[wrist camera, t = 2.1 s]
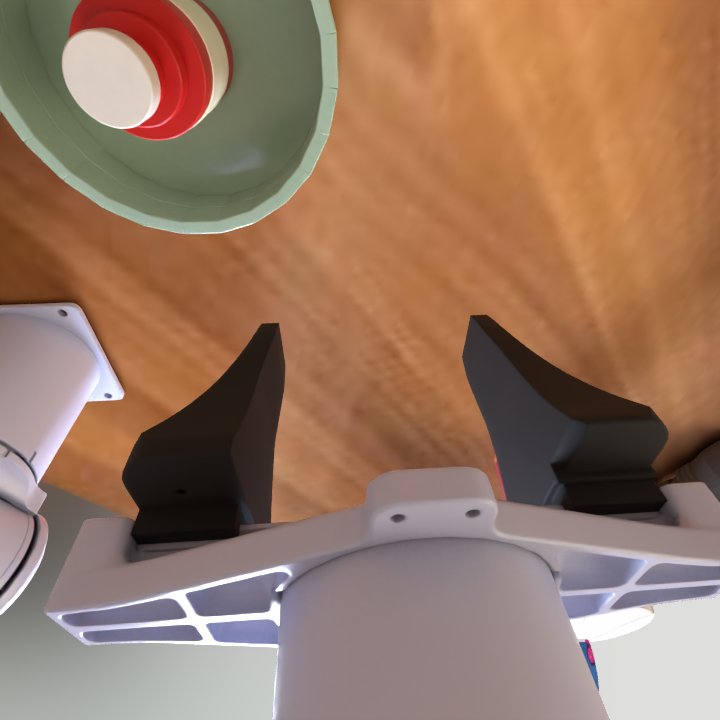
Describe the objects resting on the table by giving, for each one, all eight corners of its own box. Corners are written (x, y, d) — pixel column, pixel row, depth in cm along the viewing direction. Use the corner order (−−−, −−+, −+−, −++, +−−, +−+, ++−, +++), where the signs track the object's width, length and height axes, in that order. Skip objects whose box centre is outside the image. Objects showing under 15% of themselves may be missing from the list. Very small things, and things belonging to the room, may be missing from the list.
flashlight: (621, 519, 48) (648, 567, 44) (588, 509, 46) (613, 559, 42) (753, 440, 40) (803, 491, 35) (720, 425, 38) (768, 477, 34)
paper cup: (542, 481, 42) (617, 645, 31) (470, 476, 40) (523, 646, 30) (584, 429, 37) (690, 603, 26) (503, 422, 36) (581, 602, 25)
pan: (94, 205, 22) (58, 238, 19) (-68, -189, 14) (-179, -243, 11) (340, 199, 23) (342, 229, 20) (327, -182, 14) (328, -231, 11)
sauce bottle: (149, 111, 19) (64, 165, 13) (113, -13, 16) (-17, -21, 10) (243, 110, 19) (204, 162, 13) (223, -13, 17) (162, -22, 10)
